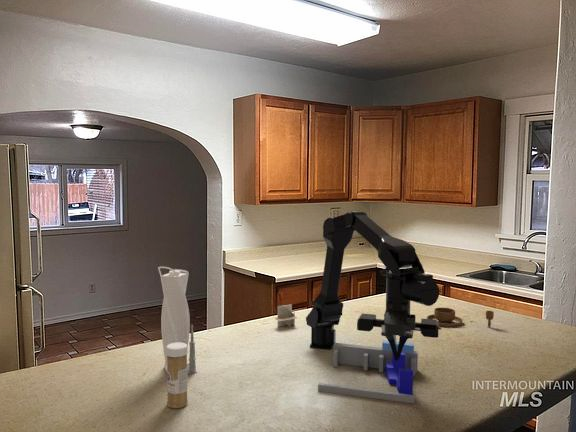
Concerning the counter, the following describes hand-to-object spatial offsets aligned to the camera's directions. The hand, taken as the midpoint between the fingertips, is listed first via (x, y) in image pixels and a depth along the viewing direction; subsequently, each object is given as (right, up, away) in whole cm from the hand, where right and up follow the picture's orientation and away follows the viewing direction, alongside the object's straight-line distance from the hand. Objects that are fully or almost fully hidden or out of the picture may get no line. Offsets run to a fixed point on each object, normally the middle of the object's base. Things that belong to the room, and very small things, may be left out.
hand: (396, 359), depth 116 cm
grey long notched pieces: (-6, -6, +4) cm, 9 cm away
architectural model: (-27, -3, +48) cm, 55 cm away
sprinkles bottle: (-51, -7, -10) cm, 52 cm away
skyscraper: (-55, -6, +9) cm, 56 cm away
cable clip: (+1, -7, +1) cm, 7 cm away
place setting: (+31, -3, +50) cm, 59 cm away
